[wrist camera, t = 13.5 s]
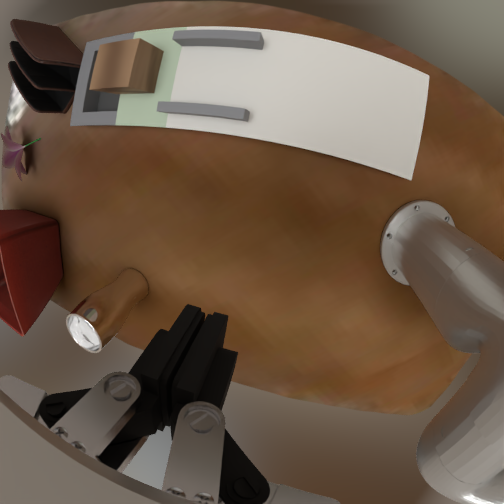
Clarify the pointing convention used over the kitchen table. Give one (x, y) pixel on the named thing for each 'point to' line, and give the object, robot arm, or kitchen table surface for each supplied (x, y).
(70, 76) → the letter holder
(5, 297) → the plant pot
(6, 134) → the lily
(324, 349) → the kitchen table surface
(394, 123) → the channel deck
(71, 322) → the beer glass
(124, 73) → the walnut block
